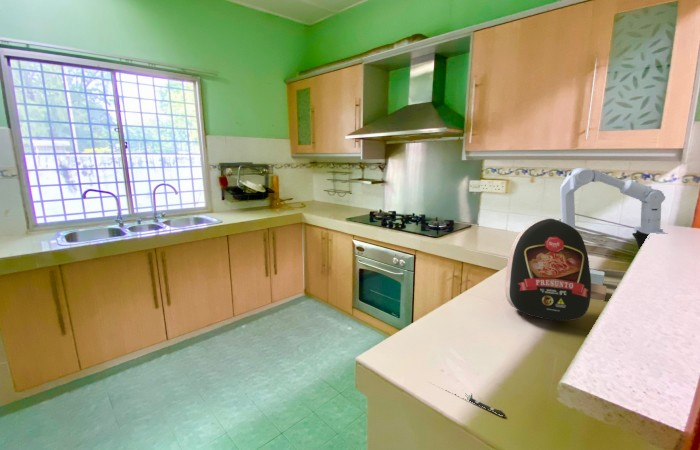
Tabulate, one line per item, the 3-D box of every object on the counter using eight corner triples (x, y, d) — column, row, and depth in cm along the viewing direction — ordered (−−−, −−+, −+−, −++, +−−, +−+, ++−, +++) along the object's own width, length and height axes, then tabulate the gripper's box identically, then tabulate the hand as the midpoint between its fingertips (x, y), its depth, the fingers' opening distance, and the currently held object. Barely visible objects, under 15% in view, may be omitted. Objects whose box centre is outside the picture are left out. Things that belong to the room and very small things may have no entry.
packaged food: (509, 323, 94) (520, 225, 88) (497, 296, 113) (506, 213, 106) (595, 334, 88) (613, 229, 82) (568, 303, 107) (581, 216, 101)
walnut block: (572, 295, 114) (573, 287, 114) (575, 287, 121) (576, 280, 120) (604, 302, 109) (605, 294, 108) (605, 293, 115) (606, 286, 115)
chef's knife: (420, 371, 74) (414, 377, 72) (421, 367, 74) (414, 372, 72) (508, 412, 62) (504, 420, 60) (509, 406, 62) (505, 415, 60)
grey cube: (585, 284, 123) (587, 272, 122) (586, 280, 127) (588, 269, 126) (602, 288, 120) (604, 275, 119) (602, 283, 124) (604, 271, 123)
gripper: (677, 221, 118) (676, 256, 120) (648, 215, 132) (647, 247, 134) (656, 222, 119) (654, 257, 121) (629, 217, 133) (628, 248, 135)
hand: (649, 252), depth 128 cm, fingers open, 7 cm apart
